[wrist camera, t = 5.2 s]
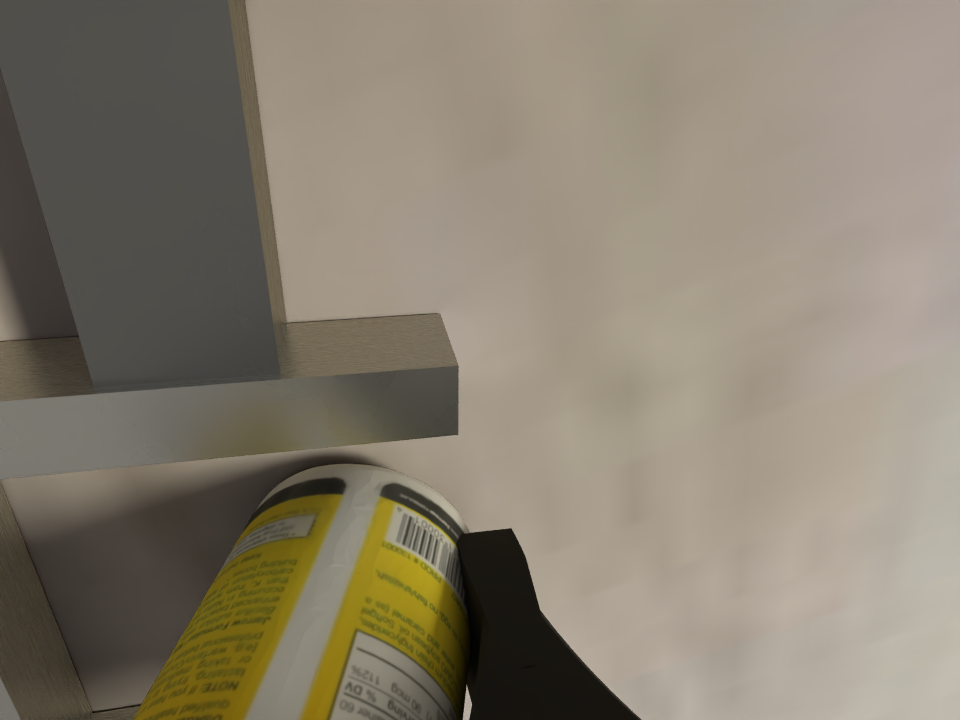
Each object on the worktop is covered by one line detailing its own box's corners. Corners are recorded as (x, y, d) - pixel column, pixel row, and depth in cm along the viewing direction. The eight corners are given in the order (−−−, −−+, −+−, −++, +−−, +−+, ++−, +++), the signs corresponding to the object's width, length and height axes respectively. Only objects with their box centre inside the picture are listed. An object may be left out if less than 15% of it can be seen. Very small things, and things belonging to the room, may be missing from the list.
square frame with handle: (444, 692, 17) (457, 769, 15) (45, 758, 15) (10, 853, 14) (429, -679, 7) (461, -907, 5) (-754, -921, 5) (-1287, -1375, 4)
